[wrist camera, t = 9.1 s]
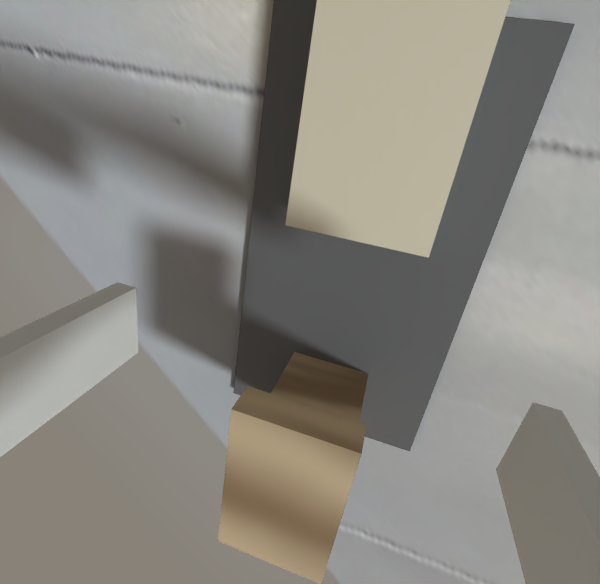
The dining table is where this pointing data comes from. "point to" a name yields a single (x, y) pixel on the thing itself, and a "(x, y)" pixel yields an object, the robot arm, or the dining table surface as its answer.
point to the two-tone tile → (388, 115)
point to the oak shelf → (293, 465)
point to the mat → (373, 259)
